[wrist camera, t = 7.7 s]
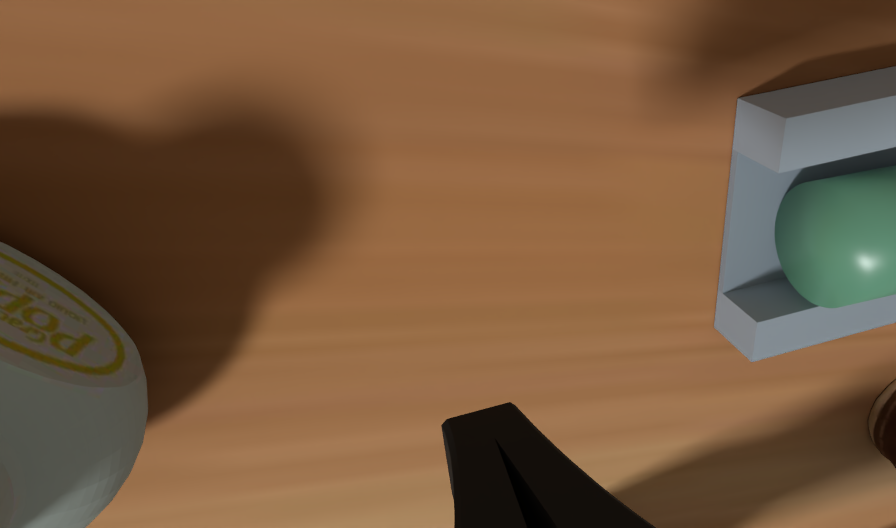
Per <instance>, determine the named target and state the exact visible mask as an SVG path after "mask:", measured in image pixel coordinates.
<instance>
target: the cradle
mask: <svg viewBox="0 0 896 528" xmlns="http://www.w3.org/2000/svg"><path fill="white" fill-rule="evenodd" d="M894 165H896V66H894V67H889V68H884V69H879V70H874V71H869V72H864V73H859V74H854V75H850V76H845V77H840V78H835V79H830V80H825V81H820V82H815V83H810V84H805V85H800V86H795V87H791V88H786V89H781V90H776V91H771V92H766V93H761V94H756V95H751V96H746V97H741V98H738V100H737V110H736V120H735V130H734V139H733V149H732V159H731V168H730V178H729V188H728V197H727V207H726V217H725V226H724V236H723V246H722V255H721V265H720V275H719V284H718V294H717V304H716V313H715V323H714V328H715V329H717V330H718V331H719V332H720V333H721V334H722V335H723V336H724V337H725V338H726V339H727V340H728V341H729V342H731V343H732V344H733V345H734V346H735V347H736V348H737V349H738V350H739V351H740V352H741V353H742V354H743V355H745V356H746V357H747V358H748V359H749V360H750V361H751V362H754V361H758V360H761V359H765V358H768V357H772V356H776V355H779V354H783V353H787V352H790V351H794V350H797V349H801V348H805V347H808V346H812V345H816V344H819V343H823V342H826V341H830V340H834V339H837V338H841V337H845V336H848V335H852V334H855V333H859V332H863V331H866V330H870V329H874V328H877V327H881V326H884V325H888V324H892V323H895V322H896V294H895V295H890V296H886V297H882V298H877V299H873V300H869V301H864V302H860V303H856V304H851V305H847V306H843V307H839V308H824V307H821V306H818V305H815V304H813V303H811V302H810V301H808V300H807V299H805V298H804V297H803V296H802V295H800V294H799V293H798V291H797V290H796V289H795V288H794V287H793V286H792V284H791V283H790V281H789V280H788V278H787V277H786V275H785V273H784V271H783V269H782V266H781V264H780V261H779V258H778V255H777V250H776V245H775V221H776V216H777V212H778V209H779V206H780V204H781V202H782V200H783V199H784V197H785V196H786V194H787V193H788V192H789V191H790V190H791V189H793V188H794V187H795V186H797V185H799V184H802V183H805V182H809V181H814V180H820V179H825V178H830V177H836V176H841V175H846V174H851V173H857V172H862V171H867V170H872V169H878V168H883V167H888V166H894Z"/></svg>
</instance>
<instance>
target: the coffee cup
mask: <svg viewBox="0 0 896 528" xmlns="http://www.w3.org/2000/svg"><path fill="white" fill-rule="evenodd" d="M868 424H869V430H870V434H871V438H872V441H873V442H874V444H875V446H876V447H877V448H878V450H879V451H880V452H881V453H882V454H883V455H884V456H885V457H886V458H887V459H889V460H890V461H891V462H892V463H893V465H894V466H895V468H896V380H895V381H893V382H892V383H891V384H890V385H889V386H888V387H887V388H886V389H885V390H884V391H883V392H882V393H881V395H880V396H879V397H878V398H877V400H876V401H875V403H874V406H873V408H872V410H871V413H870V416H869V421H868Z"/></svg>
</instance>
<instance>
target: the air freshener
mask: <svg viewBox="0 0 896 528" xmlns="http://www.w3.org/2000/svg"><path fill="white" fill-rule="evenodd" d="M147 415H148V397H147V380H146V376H145V372H144V369H143V365H142V362H141V358H140V355H139V352H138V350H137V347H136V345H135V344H134V342H133V341H132V339H131V338H130V337H129V335H128V334H127V333H126V332H125V330H124V329H123V328H122V327H121V326H120V325H119V324H118V322H117V321H116V320H115V319H114V318H113V317H112V316H111V315H110V314H109V313H108V312H107V311H106V310H105V309H104V308H102V307H101V306H100V305H99V304H98V303H96V302H95V301H94V300H93V299H92V298H90V297H89V296H88V295H87V294H86V293H84V292H83V291H82V290H80V289H79V288H78V287H76V286H75V285H73V284H72V283H70V282H69V281H68V280H66V279H65V278H63V277H62V276H60V275H59V274H57V273H56V272H54V271H53V270H51V269H49V268H48V267H46V266H44V265H43V264H41V263H40V262H38V261H36V260H35V259H33V258H31V257H29V256H27V255H25V254H24V253H22V252H20V251H18V250H16V249H14V248H12V247H11V246H9V245H7V244H4V243H2V242H0V528H85V527H86V526H88V525H89V524H90V523H91V522H92V521H93V520H94V519H95V518H96V517H97V516H98V515H99V514H100V513H101V511H102V510H103V509H104V508H105V507H106V506H107V505H108V504H109V503H110V502H111V501H112V500H113V498H114V497H115V495H116V494H117V492H118V491H119V489H120V488H121V486H122V485H123V483H124V482H125V480H126V479H127V477H128V476H129V474H130V472H131V470H132V468H133V465H134V463H135V460H136V458H137V455H138V453H139V451H140V448H141V446H142V443H143V439H144V433H145V427H146V421H147Z"/></svg>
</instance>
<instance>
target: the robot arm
mask: <svg viewBox="0 0 896 528" xmlns="http://www.w3.org/2000/svg"><path fill="white" fill-rule="evenodd" d="M441 426H442V432H443V438H444V445H445V451H446V458H447V464H448V470H449V477H450V483H451V489H452V495H453V498H454V509H455V526H454V528H656V527H654V526H653V525H651V524H650V523H648V522H647V521H646V520H644V519H643V518H641V517H640V516H639V515H637V514H636V513H635V512H633V511H632V510H631V509H629V508H628V507H627V506H625V505H624V504H623V503H622V502H620V501H619V500H618V499H616V498H615V497H614V496H613V495H611V494H610V493H609V492H607V491H606V490H605V489H604V488H603V487H601V486H600V485H599V484H598V483H596V482H595V481H594V480H593V479H592V478H591V477H589V476H588V475H587V474H586V473H585V472H584V471H583V470H581V469H580V468H579V467H578V466H577V465H576V464H574V463H573V462H572V461H571V460H570V459H569V458H568V457H567V456H566V455H564V454H563V453H562V452H561V451H560V450H559V449H558V448H557V447H556V446H555V445H554V444H553V443H552V442H551V441H550V440H548V439H547V438H546V437H545V436H544V435H543V434H542V433H541V432H540V431H539V430H538V429H537V428H536V427H535V426H534V425H533V424H532V423H531V422H530V421H529V419H528V418H527V417H526V416H525V415H524V414H523V413H522V412H521V411H520V410H519V409H518V408H517V407H516V406H515V405H514V404H512V403H510V402H509V403H505V404H501V405H498V406H494V407H490V408H486V409H483V410H479V411H475V412H471V413H468V414H464V415H460V416H457V417H453V418H449V419H446V421H445V422H444V423H443V424H442V425H441Z"/></svg>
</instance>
